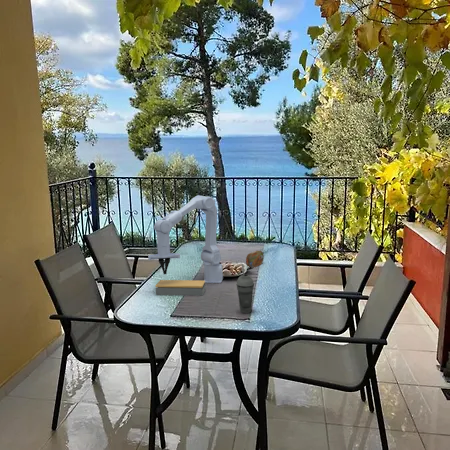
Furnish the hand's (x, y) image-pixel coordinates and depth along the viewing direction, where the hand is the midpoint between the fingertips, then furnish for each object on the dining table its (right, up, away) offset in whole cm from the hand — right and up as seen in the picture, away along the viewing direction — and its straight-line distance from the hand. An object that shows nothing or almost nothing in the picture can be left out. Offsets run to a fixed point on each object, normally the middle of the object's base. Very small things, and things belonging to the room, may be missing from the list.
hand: (165, 273), depth 200 cm
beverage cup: (+37, -13, -23) cm, 45 cm away
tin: (+45, -1, +44) cm, 63 cm away
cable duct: (+7, -9, +2) cm, 12 cm away
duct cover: (+7, -5, +2) cm, 9 cm away
